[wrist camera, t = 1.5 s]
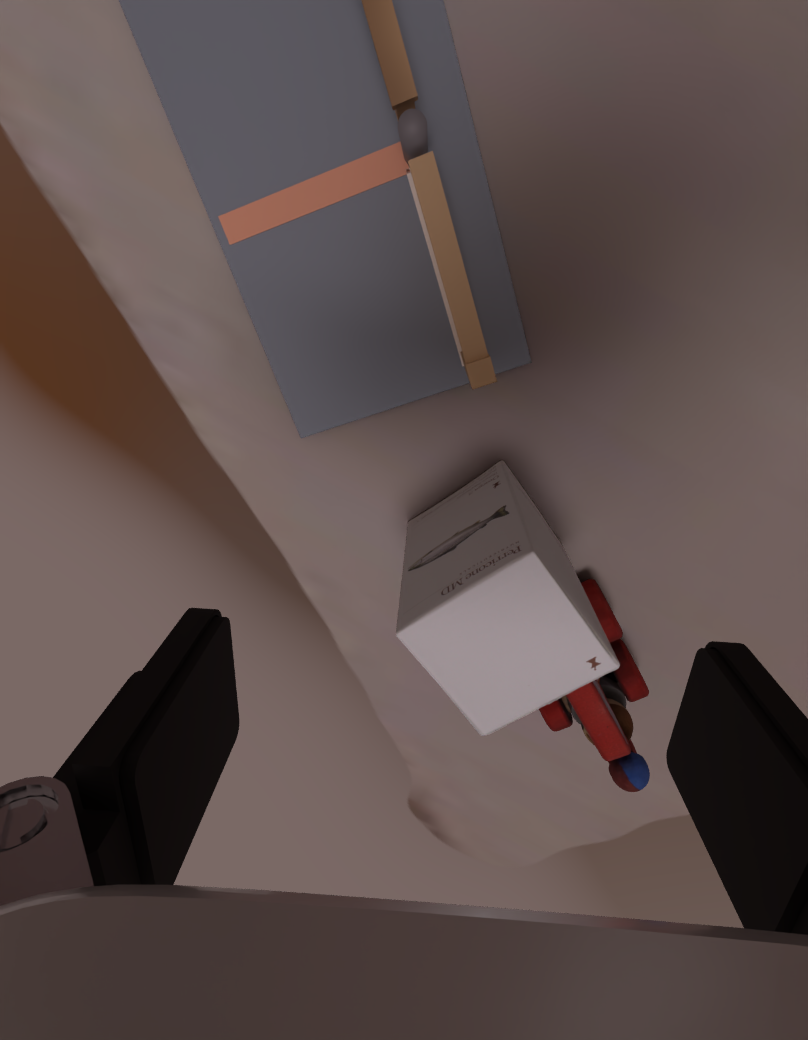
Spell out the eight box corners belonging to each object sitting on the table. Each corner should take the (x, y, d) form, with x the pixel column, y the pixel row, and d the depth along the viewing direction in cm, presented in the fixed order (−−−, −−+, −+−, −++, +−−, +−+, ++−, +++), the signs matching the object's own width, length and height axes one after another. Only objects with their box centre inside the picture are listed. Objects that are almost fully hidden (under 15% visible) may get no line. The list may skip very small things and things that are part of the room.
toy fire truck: (555, 720, 42) (592, 851, 32) (482, 591, 38) (500, 696, 28) (646, 686, 40) (714, 813, 31) (581, 548, 36) (634, 644, 27)
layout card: (397, -180, 23) (388, -313, 18) (530, 361, 32) (550, 377, 26) (108, -32, 26) (25, -112, 20) (302, 436, 34) (278, 465, 29)
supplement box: (502, 454, 34) (540, 546, 22) (564, 546, 36) (627, 672, 24) (403, 519, 36) (390, 634, 24) (467, 602, 38) (484, 744, 26)
